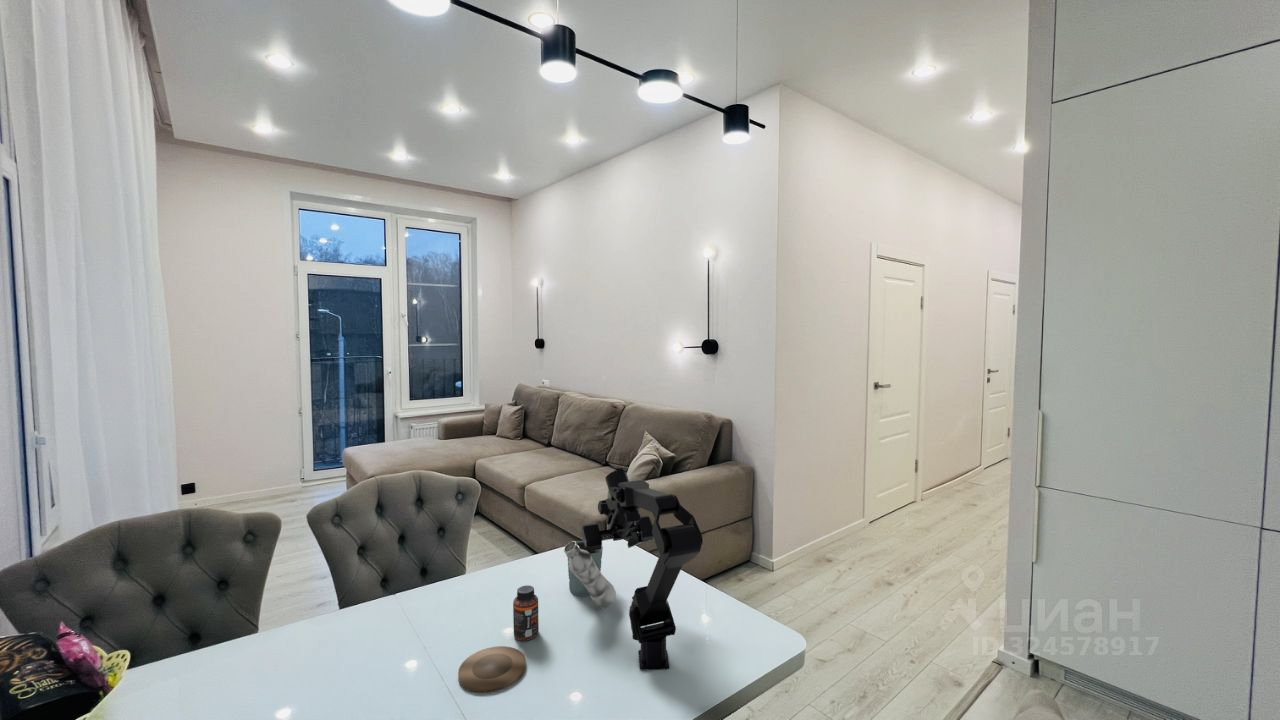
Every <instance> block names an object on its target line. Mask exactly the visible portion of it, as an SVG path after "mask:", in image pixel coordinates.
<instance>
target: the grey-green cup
mask: <svg viewBox="0 0 1280 720" xmlns="http://www.w3.org/2000/svg"><path fill="white" fill-rule="evenodd" d="M575 542H576V543H577V545H578V546H579V547H580V549H583V550H586V551H588V552H589V553H590V554H591V556H592V558H593V560H594V562H595V564H596V566H597V567H598V569H599V571H600V572H602V558H603V549H604V548H603V545H602V546H601V548H602V549H601V550H600V551H599V553H597V554H596V552H595V551H594V550H593V551H591V550H587V549H585V545H584V540H580V541H575ZM567 567H568V568H567V571H568V580H569V582H568V584H569V585H568V586H569V592H570V593H571V594H573V595H574V596H580V597H582V596H584V597H585V596H586V597H587V596H590V594H589V592H588V591H587V589H586V587H585V586H584V585H583V583H582V582H581V581H580V580H579V579H578V578H577V577H576V576H575V575H574V574H573V573H572V572H571V571H570V568H569V558H568V557H567Z"/></svg>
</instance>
